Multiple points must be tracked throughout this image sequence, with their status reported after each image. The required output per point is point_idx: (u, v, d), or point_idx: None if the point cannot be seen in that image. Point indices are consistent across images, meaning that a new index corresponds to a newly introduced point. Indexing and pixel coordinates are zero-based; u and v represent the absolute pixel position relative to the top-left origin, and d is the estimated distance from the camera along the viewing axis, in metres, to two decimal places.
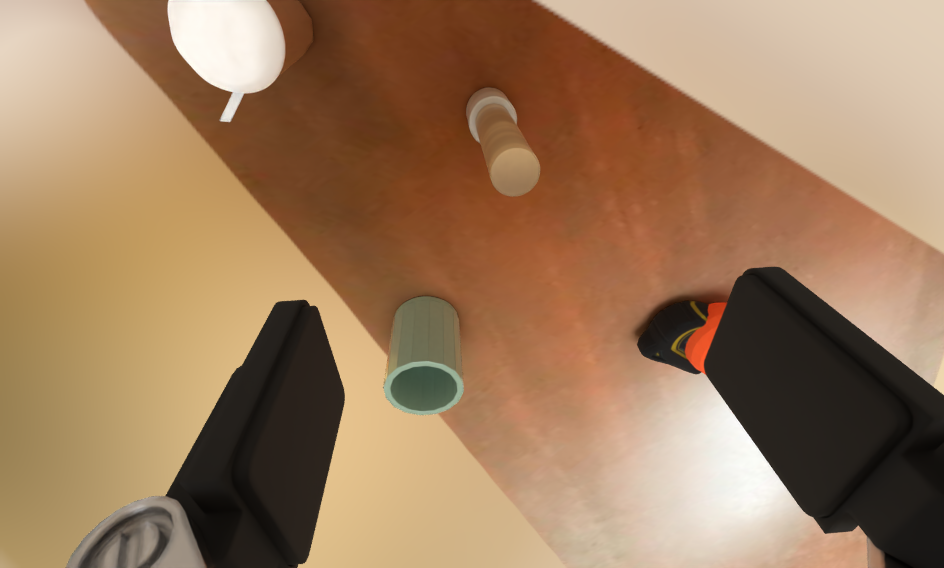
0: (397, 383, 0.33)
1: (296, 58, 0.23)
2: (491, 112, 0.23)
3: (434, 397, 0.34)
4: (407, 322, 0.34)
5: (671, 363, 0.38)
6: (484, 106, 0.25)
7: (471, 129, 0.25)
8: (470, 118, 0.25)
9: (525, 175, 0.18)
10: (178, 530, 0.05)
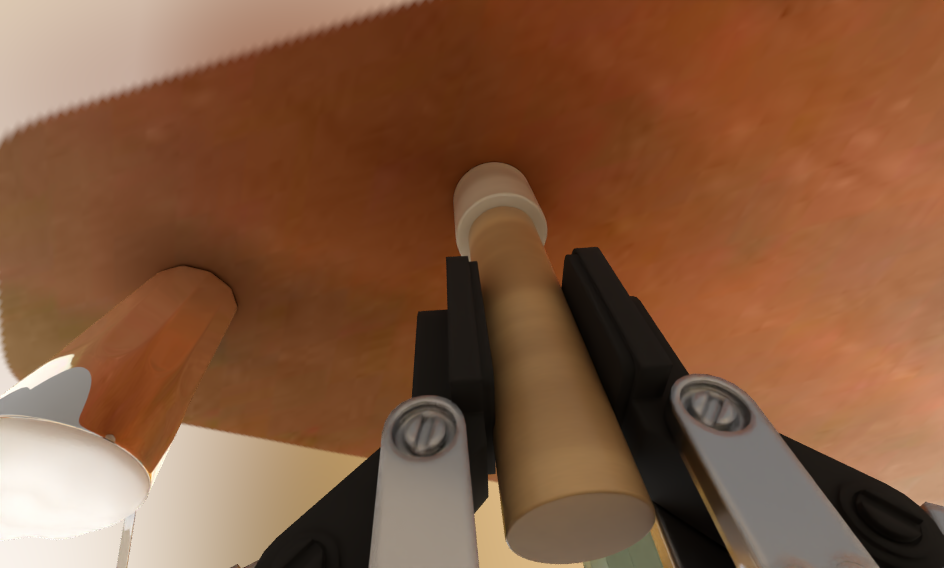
0: None
1: (211, 348, 0.15)
2: (478, 257, 0.11)
3: None
4: None
5: None
6: (470, 228, 0.13)
7: None
8: None
9: (612, 524, 0.06)
10: (457, 417, 0.06)
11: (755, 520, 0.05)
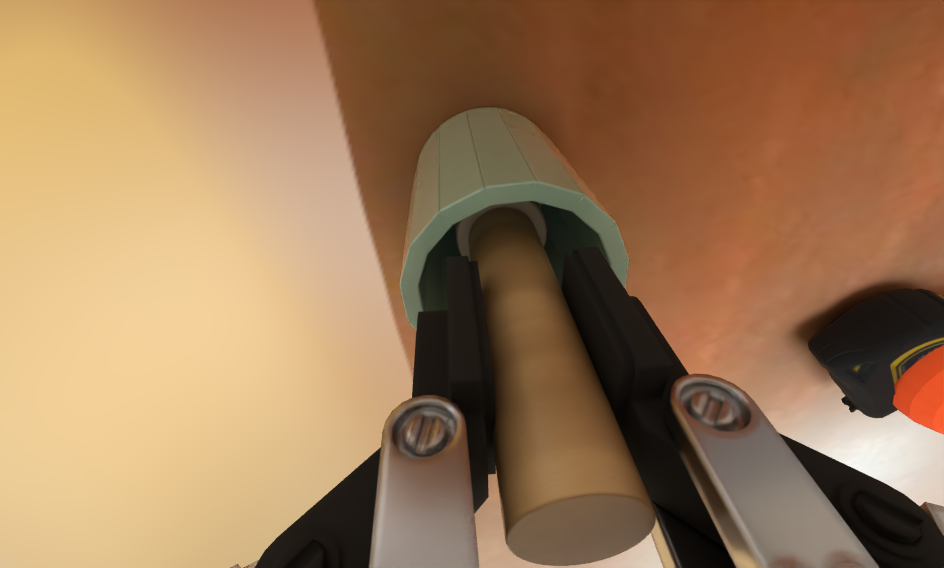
0: (423, 267, 0.12)
1: None
2: (478, 258, 0.11)
3: None
4: (487, 128, 0.13)
5: (866, 389, 0.22)
6: (470, 230, 0.13)
7: None
8: None
9: (612, 526, 0.06)
10: (457, 417, 0.06)
11: (755, 520, 0.05)
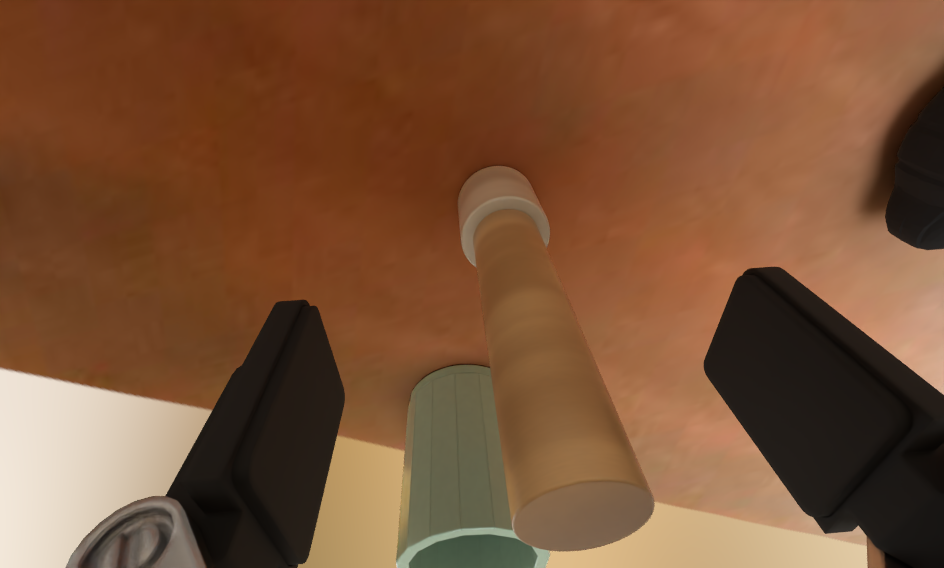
0: (448, 546, 0.19)
1: None
2: (483, 259, 0.12)
3: (518, 544, 0.18)
4: (408, 442, 0.19)
5: None
6: (475, 231, 0.13)
7: None
8: (469, 258, 0.14)
9: (613, 512, 0.06)
10: (178, 530, 0.05)
11: None
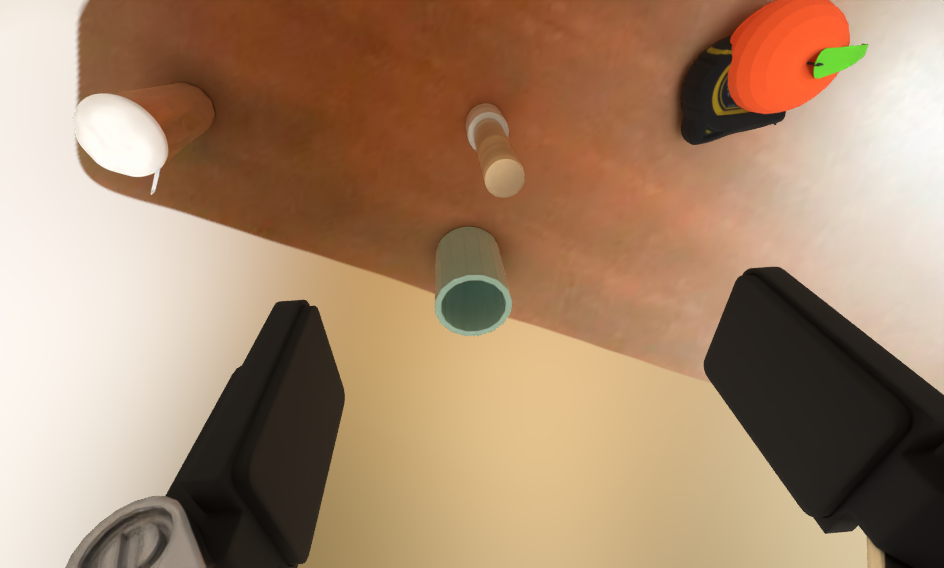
0: (459, 316, 0.35)
1: (199, 121, 0.28)
2: (477, 134, 0.27)
3: (497, 310, 0.34)
4: (437, 262, 0.35)
5: (733, 129, 0.30)
6: (474, 129, 0.29)
7: (477, 150, 0.30)
8: (471, 144, 0.30)
9: (512, 175, 0.22)
10: (178, 530, 0.05)
11: None
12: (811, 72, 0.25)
